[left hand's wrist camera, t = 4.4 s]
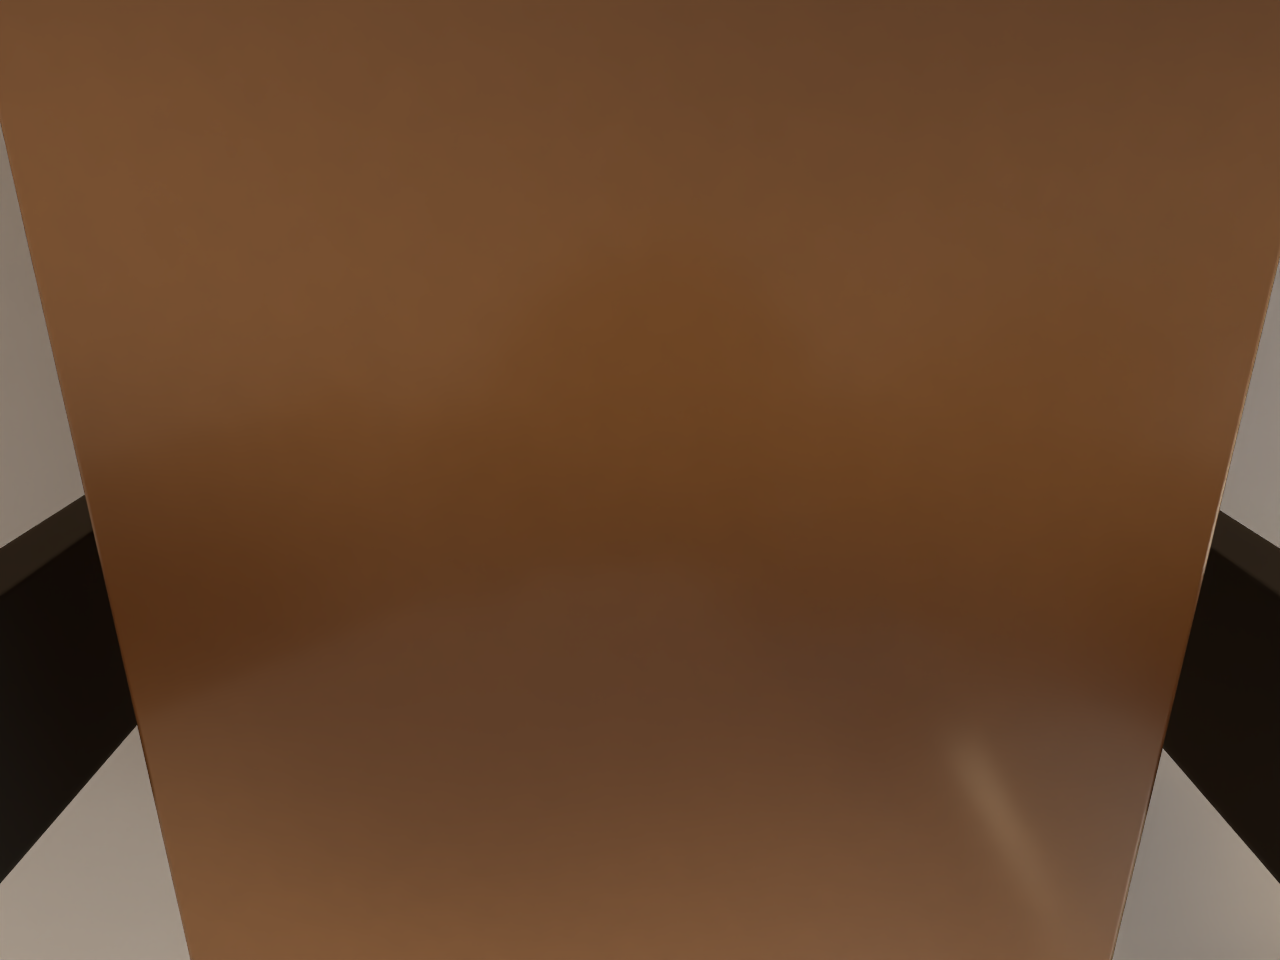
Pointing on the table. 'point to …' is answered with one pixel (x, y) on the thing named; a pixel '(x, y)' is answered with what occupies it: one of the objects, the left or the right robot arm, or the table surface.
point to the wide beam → (650, 451)
